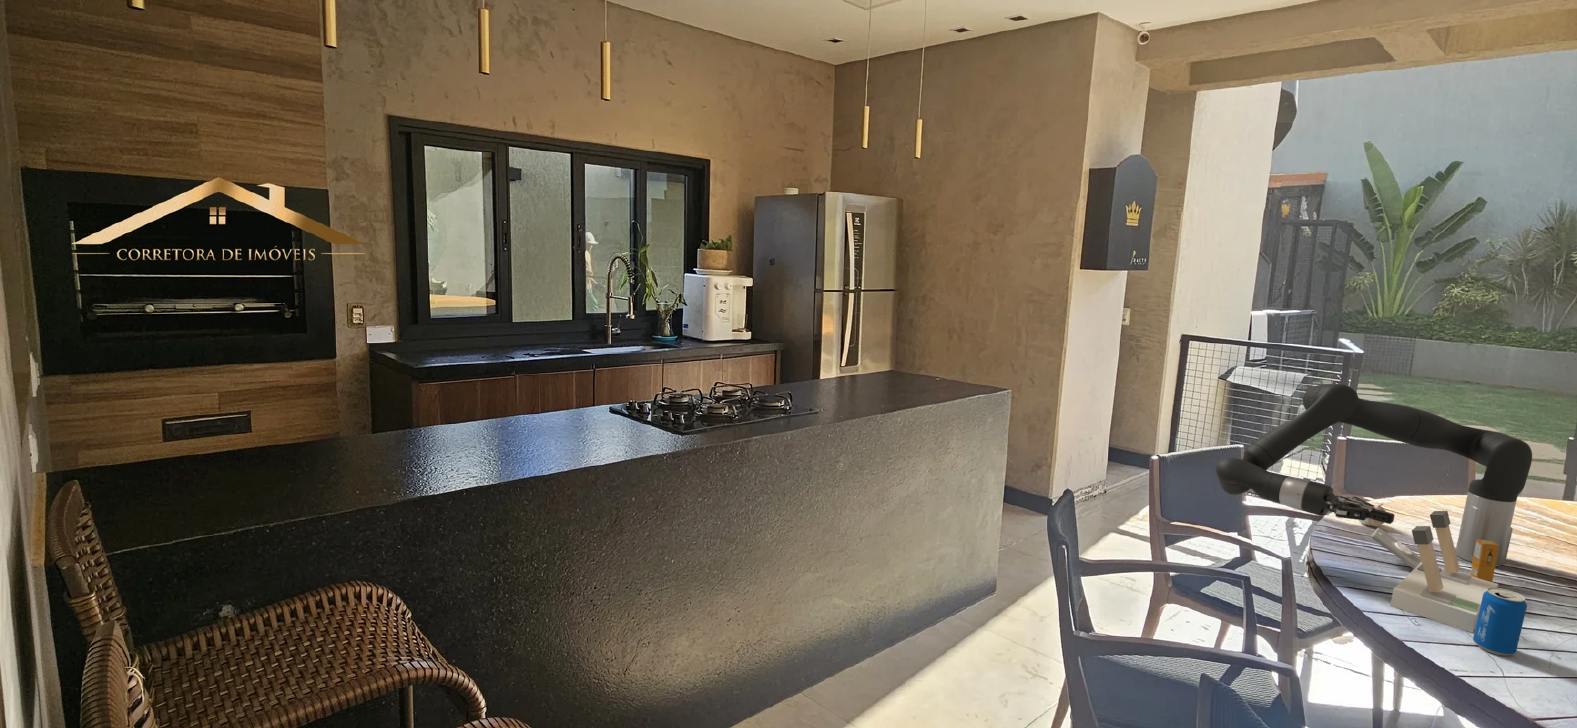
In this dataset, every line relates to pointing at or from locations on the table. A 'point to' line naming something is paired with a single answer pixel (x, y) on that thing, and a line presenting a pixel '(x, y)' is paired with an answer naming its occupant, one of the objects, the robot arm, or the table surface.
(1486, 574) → the supplement box
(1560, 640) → the table surface
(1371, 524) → the brown hamster figurine
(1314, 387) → the robot arm
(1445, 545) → the lever charcoal
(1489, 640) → the beverage can
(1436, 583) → the tan lever
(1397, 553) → the light switch
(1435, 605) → the switch unit
